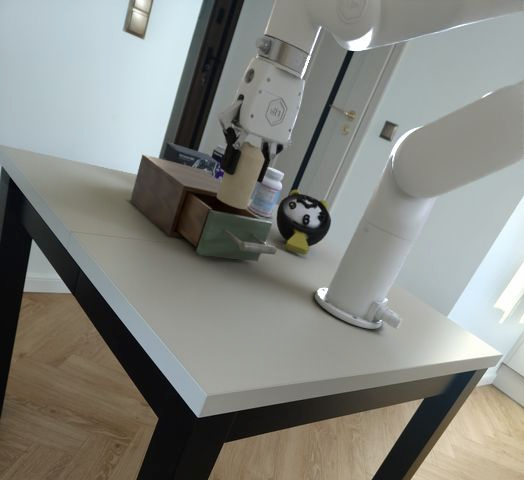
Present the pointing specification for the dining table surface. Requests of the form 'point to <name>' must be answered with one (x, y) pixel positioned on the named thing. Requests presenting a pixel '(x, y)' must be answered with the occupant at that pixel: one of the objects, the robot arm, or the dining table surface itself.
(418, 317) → the dining table surface
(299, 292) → the dining table surface
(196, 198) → the drawer
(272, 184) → the pill bottle
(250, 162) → the candle
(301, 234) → the alarm clock
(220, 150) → the beverage can
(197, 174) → the cabinet
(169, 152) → the box
